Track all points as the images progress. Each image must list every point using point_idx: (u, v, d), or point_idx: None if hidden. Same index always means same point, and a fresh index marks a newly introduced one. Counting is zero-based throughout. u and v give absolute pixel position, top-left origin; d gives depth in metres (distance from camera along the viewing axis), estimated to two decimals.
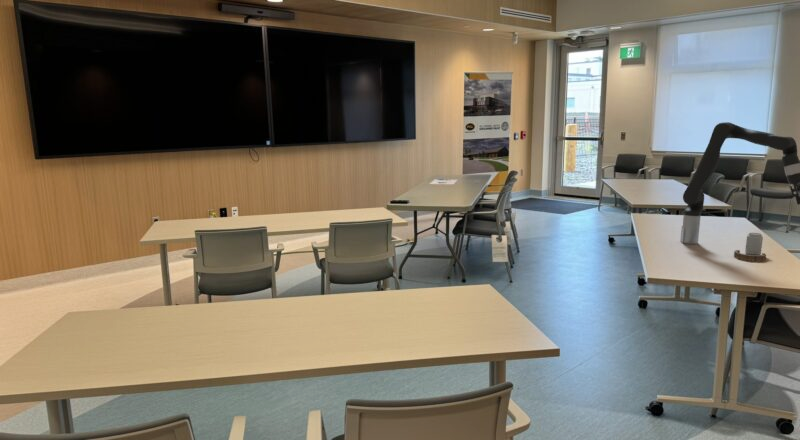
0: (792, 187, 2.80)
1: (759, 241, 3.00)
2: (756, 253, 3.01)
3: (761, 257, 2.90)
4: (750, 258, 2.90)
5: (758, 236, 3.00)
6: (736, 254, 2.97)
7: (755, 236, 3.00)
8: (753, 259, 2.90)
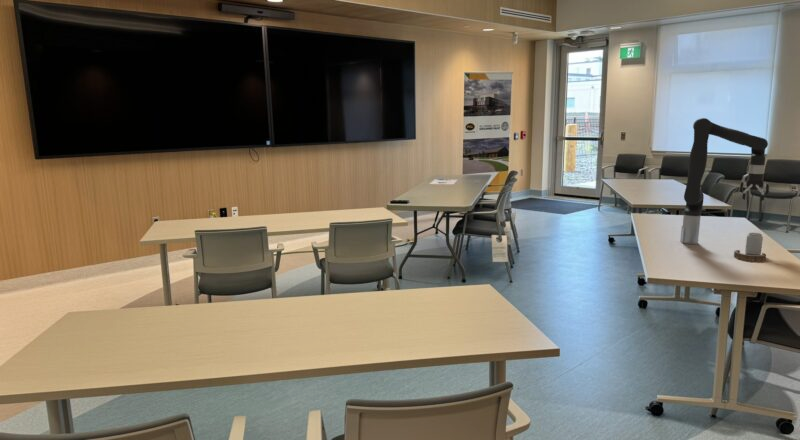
0: (768, 185, 3.10)
1: (759, 241, 3.00)
2: (756, 253, 3.01)
3: (761, 257, 2.90)
4: (750, 258, 2.90)
5: (758, 236, 3.00)
6: (736, 254, 2.97)
7: (755, 236, 3.00)
8: (753, 259, 2.90)
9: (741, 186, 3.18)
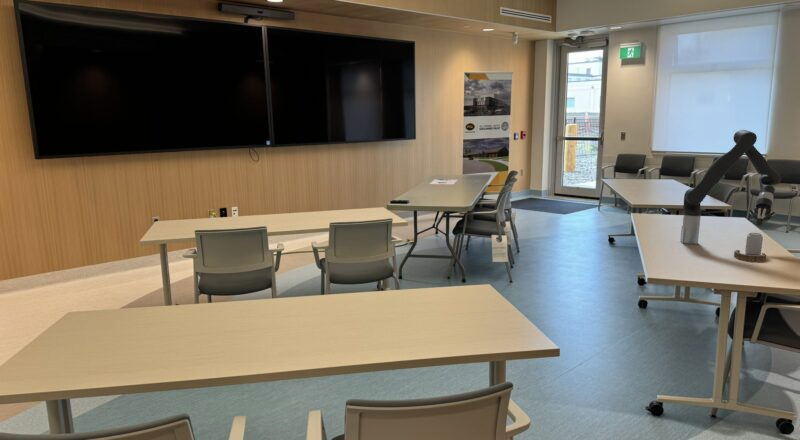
0: (773, 214, 3.09)
1: (759, 241, 3.00)
2: (756, 253, 3.01)
3: (761, 257, 2.90)
4: (750, 258, 2.90)
5: (758, 236, 3.00)
6: (736, 254, 2.97)
7: (755, 236, 3.00)
8: (753, 259, 2.90)
9: (752, 213, 3.15)
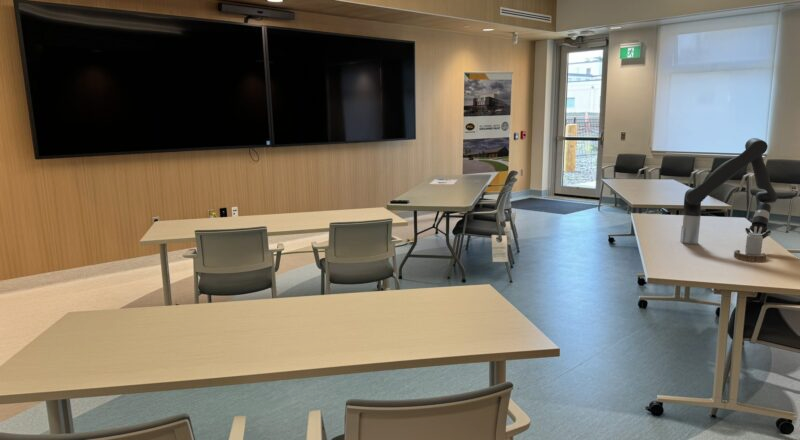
0: (769, 233, 3.07)
1: (759, 241, 3.00)
2: (756, 253, 3.01)
3: (761, 257, 2.90)
4: (750, 258, 2.90)
5: (758, 236, 3.00)
6: (736, 254, 2.97)
7: (755, 236, 3.00)
8: (753, 259, 2.90)
9: (748, 231, 3.12)
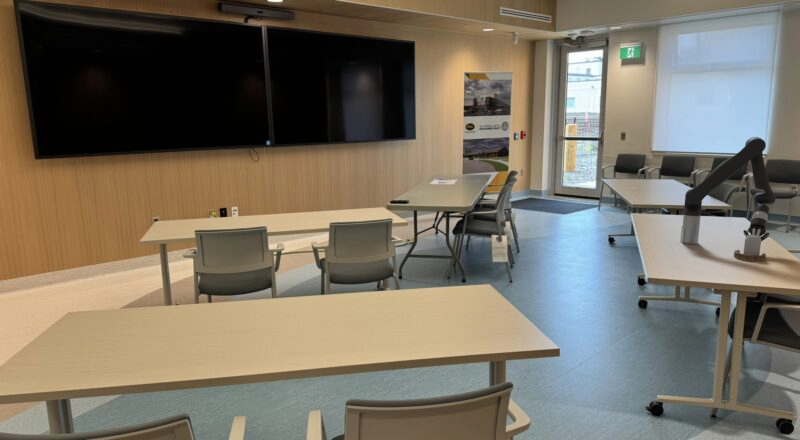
0: (768, 235, 3.01)
1: (757, 243, 2.94)
2: None
3: (761, 257, 2.90)
4: (750, 258, 2.90)
5: (756, 238, 2.94)
6: (736, 254, 2.97)
7: (753, 238, 2.94)
8: (753, 259, 2.90)
9: (746, 233, 3.06)
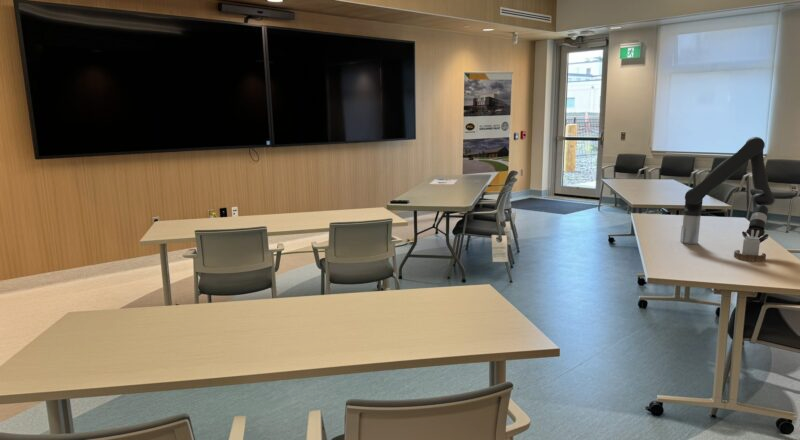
0: (766, 237, 2.97)
1: (756, 245, 2.90)
2: None
3: (761, 257, 2.90)
4: (750, 258, 2.90)
5: (755, 240, 2.90)
6: (736, 254, 2.97)
7: (751, 240, 2.91)
8: (753, 259, 2.90)
9: (745, 234, 3.03)
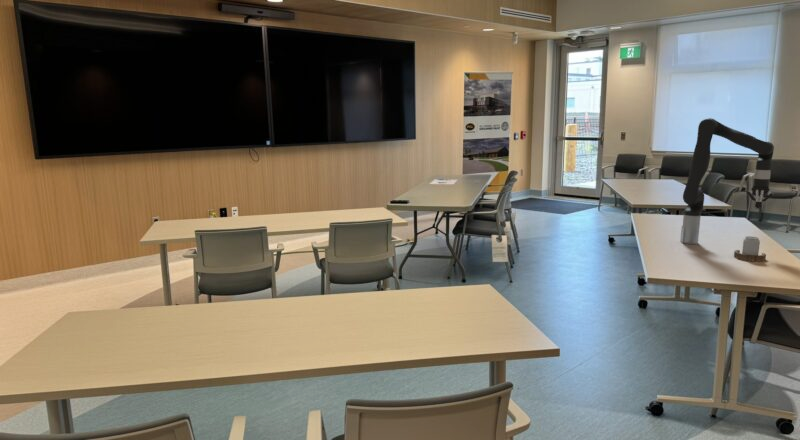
0: (771, 195, 3.02)
1: (756, 245, 2.90)
2: None
3: (761, 257, 2.90)
4: (750, 258, 2.90)
5: (755, 240, 2.90)
6: (736, 254, 2.97)
7: (751, 240, 2.91)
8: (753, 259, 2.90)
9: (750, 195, 3.08)
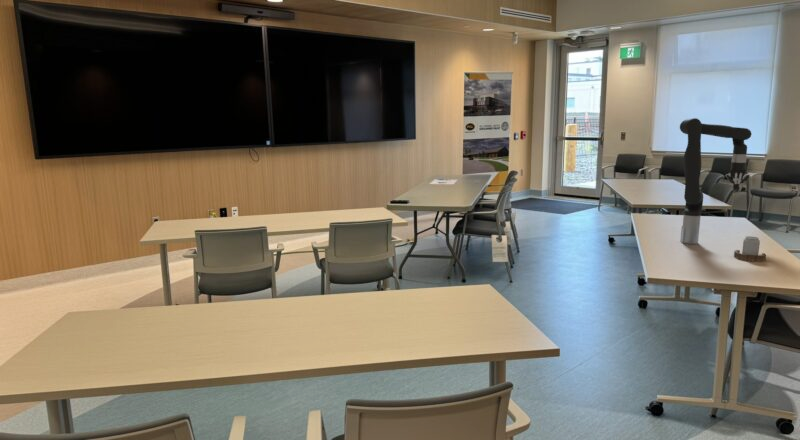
0: None
1: (756, 245, 2.90)
2: None
3: (761, 257, 2.90)
4: (750, 258, 2.90)
5: (755, 240, 2.90)
6: (736, 254, 2.97)
7: (751, 240, 2.91)
8: (753, 259, 2.90)
9: (729, 178, 3.30)
